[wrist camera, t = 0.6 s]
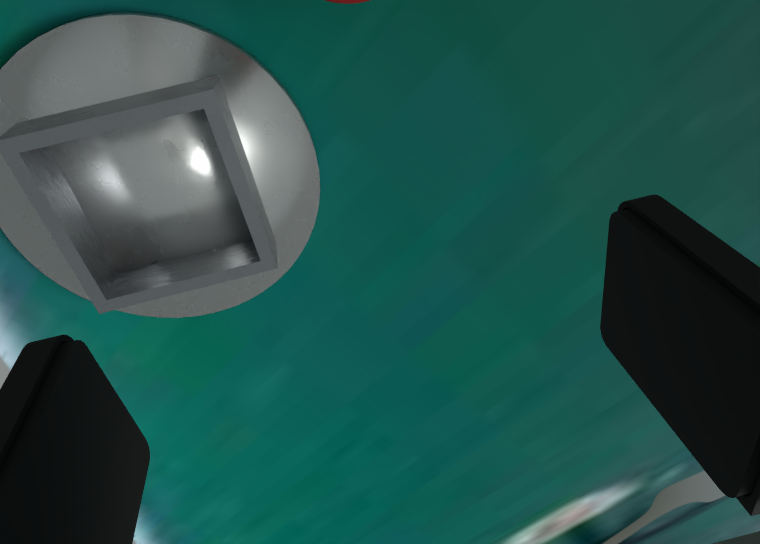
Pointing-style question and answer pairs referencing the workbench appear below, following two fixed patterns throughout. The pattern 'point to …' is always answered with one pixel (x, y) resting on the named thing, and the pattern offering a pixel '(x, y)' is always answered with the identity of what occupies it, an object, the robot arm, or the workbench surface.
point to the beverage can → (347, 1)
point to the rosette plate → (153, 165)
